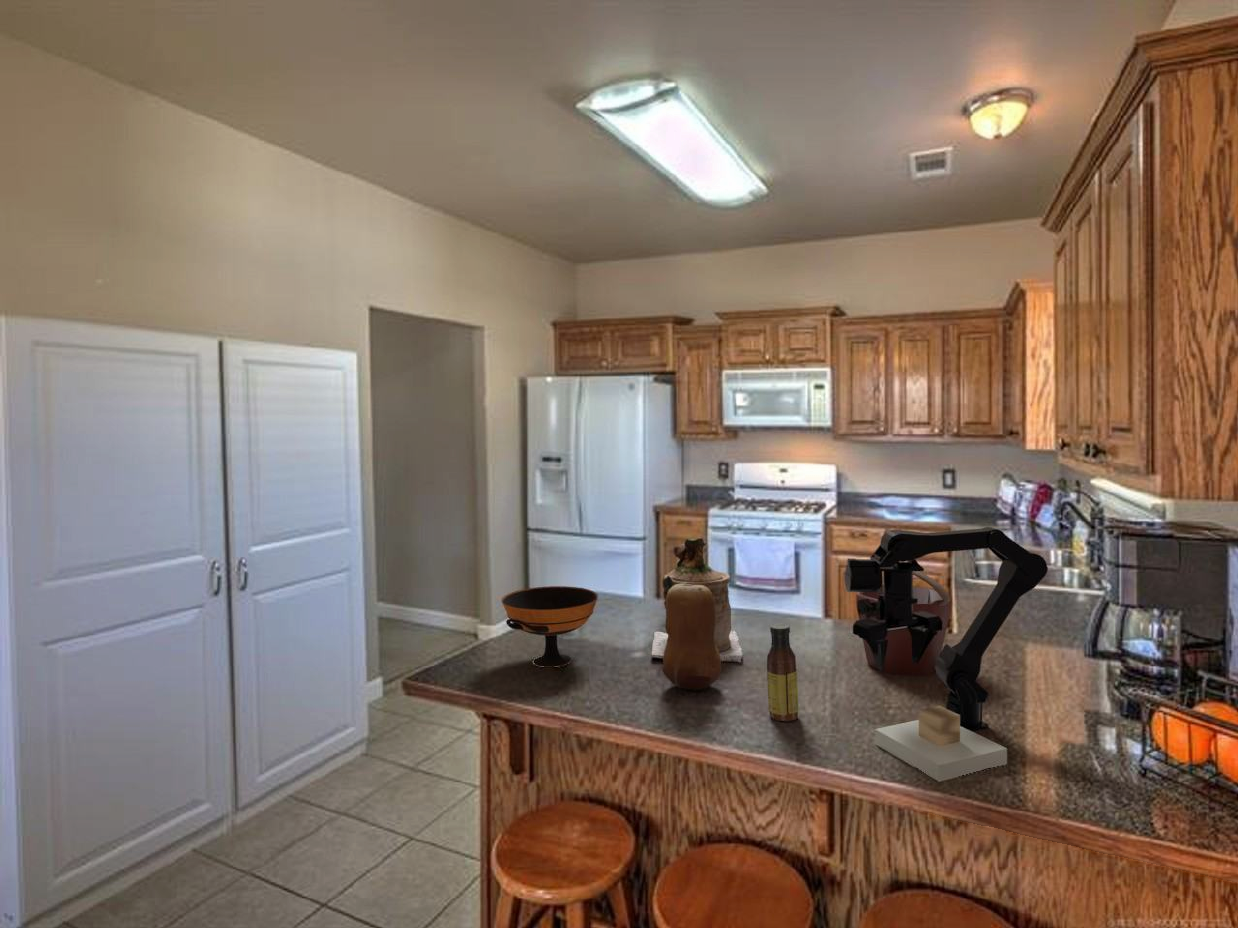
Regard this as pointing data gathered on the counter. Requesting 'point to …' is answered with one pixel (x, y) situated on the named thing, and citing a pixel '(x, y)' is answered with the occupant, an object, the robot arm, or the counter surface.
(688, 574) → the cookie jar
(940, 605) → the bucket
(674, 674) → the butternut squash
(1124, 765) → the counter surface
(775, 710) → the sauce bottle
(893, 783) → the counter surface
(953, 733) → the pine cube
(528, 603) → the cup
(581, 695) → the counter surface
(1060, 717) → the counter surface
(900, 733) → the plinth
